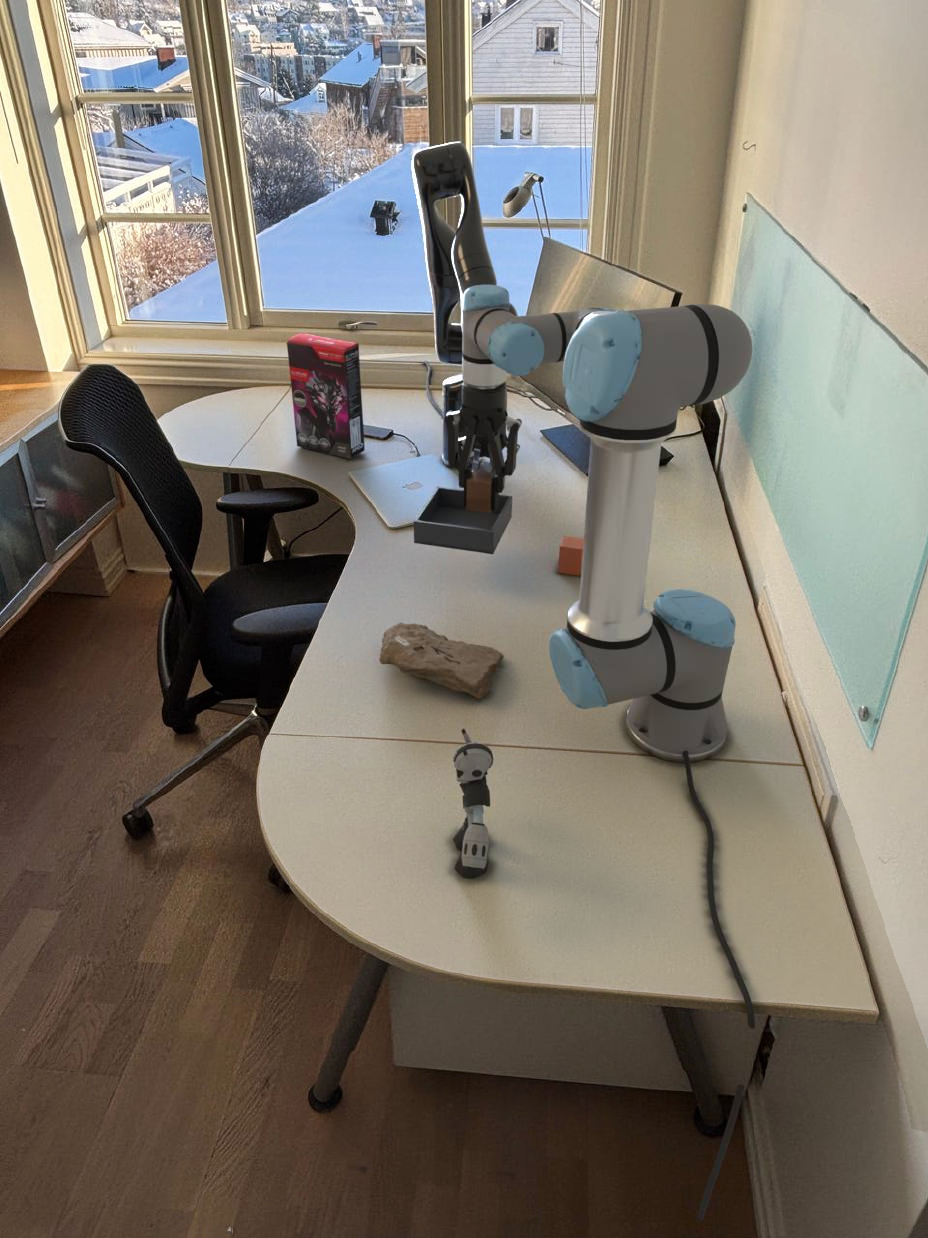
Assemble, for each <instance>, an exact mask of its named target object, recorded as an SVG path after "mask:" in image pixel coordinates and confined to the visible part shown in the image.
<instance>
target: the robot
mask: <svg viewBox="0 0 928 1238" xmlns="http://www.w3.org/2000/svg"><path fill="white" fill-rule="evenodd" d="M461 734H462V737H463V739H464V742H465V744H463V745H461V746H460V747H459V748H458V749H457V750H456V751H455V753H454V756H453V757H452V760H453V768H455V772H456V774H455V775H456V781H457V782H458V783H459V786H460V789H461V791H462V793H463V794H462V809H464V812H465V814H466V817H465V818H464V821H463V823H462V826H461V827H460V829H459V830H458V831H457V833H456V834H455V835H454V837H453V838H452V841H453V843H454V846H455V847H456V849H457V850H459V851H460V853H459V855H458V858H457V859H456V863H455V865H454V870H455V871H456V872H457V873H458V874H459V875H460V876H461V877H464V878H468V879H472V878H477V877H479V876H481V875H483V874H486V873H487V872H488V867H489V863H490V862H489V848H490V834H489V831H488V826H486V824H485V823H484V818H483V817H484V816H483V815H484V813H485V812H484V810H485V809H484V806H485V807H487V808H491V792H490V788H489V785H488V784H487V775H488V771H489V769H491V768H492V766H493V764H494V755H493V751H492V750H491V749H490V747H488V746H487V745H486V744H484V743H482V742H479V741H476V740H475V741H472V740H471V738H470V736H469V735H468V733H467V730H466V729H465V728H462V729H461Z"/></svg>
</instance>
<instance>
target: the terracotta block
mask: <svg viewBox="0 0 928 1238" xmlns="http://www.w3.org/2000/svg"><path fill="white" fill-rule="evenodd" d="M583 544H584V537H575V536H568V535H563V537H562V539H561V541H560V544H559V551H558V564H557V573H558V574H565V575H571V576H577V577H580V576H581V573H582V558H583Z"/></svg>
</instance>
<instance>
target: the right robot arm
mask: <svg viewBox="0 0 928 1238" xmlns="http://www.w3.org/2000/svg"><path fill="white" fill-rule="evenodd" d="M510 303H511V302H510V292H509V291H508V289H507V288H505V287H503V286H501V285H497V286H496V285H476V286H472V287H469V288H468V289H467V290H466V291H465V292H464V295H463V308H462V366H461V373H462V380H463V381H464V382H463V383H462V406H461V408H460V410H459V411H456V412H453V411H449V413H448V414H447V415H446V416H445V422H446V425H447V428H448V465H449V466H448V467H449V468H450V469H455V470H457V472H458V487H459V489H463V490H464V507H466V493H467V479H468V478H469V476H470V474H471V473H472V468H467V467H468V465H469V460H470V456H471V452H472V448H473V445H474V441H475V437H476V435H484V436H487V438H488V442H489V443H490V448H491V453H492V458H493V462H494V467H495V473H494V475H493V477H492V499H491V510H492V511H495V510H496V508H497V506H498V503H499V494H502V493H503V491H504V489H505V485H506V477H507V476H508V477H512V475H513V474H514V472H515V470H516V469H517V454H518V452H517V444H518V439H519V438H518V436H519V431H520V428H521V426H522V423H523V421H522V419H521V418H516V419H515V418H513V417H511V416H509V414H508V410H507V411H506V409H505V401H506V390H507V383H506V384H505V383H504V382H505V381H506V374H507V375H508V374H509V375H512V376H518V377H520V376H521V377H522V376H526V375H528V374H530V373H532V372H533V371H535V370H536V369H537V368H538V367H540V365H547V364H554V363H560V362H563V365H562V366H563V369H562V387H563V389H565V394H564V399H565V402H566V405H567V406H568V410H569V411H570V413H571V414H572V415H573V416H574V417H575V418H577V419H579V428H580V429H581V430H582V431H583V433H584V434H585V435H586V436H587V437H588V438H589V439H590V443H589V444H590V445H589V457H588V458H589V459H588V472H587V473H588V474H587V486H586V487H587V488H586V503H585V516H584V517H585V518H584V531H583V538H584V544H583V558H582V572H581V575H580V576H581V577H580V587H579V588H580V589H579V600H577V601H575V602H574V603H573V604H571V606H570V607H569V608H568V611H567V616H566V618H567V619H566V627H565V628H558V629H557V630H555V631H554V632H553V633H552V634H551V635H550V637H549V641H548V642H549V643H548V650H549V657H550V662H551V666H552V670H553V673H554V675H555V678H556V680H557V683H558V685H559V687H560V689H561V691H562V692H563V694H564V696H565V697H566V698H567V700H568V701H569V702H570V703H571V705H573V706H574V707H576V708H579V709H581V710H589V709H595V708H600V707H601V708H606V707H608V706H609V705H612V704H617V703H621V702H626V701H630V700H632V701H631V702H630V704H629V706H628V708H627V712H626V719H625V728H626V732H627V734H628V736H629V738H630V739H631V741H632V742H634V744H636V745H637V746H638V747H639V748H640V749H641V750H643V751H645V752H646V753H648V754H650V755H651V756H654V757H656V758H659V759H662V760H666V761H670V762H675V763H684V766H685V773H686V780H687V781H686V782H687V787H688V791H689V794H690V797H691V799H692V802H693V804H694V805H695V808H696V810H697V811H698V813H699V815H700V816H701V818H702V821H703V823H704V826H705V829H706V834H707V835H706V836H707V851H706V852H707V853H706V885H707V901H708V907H709V912H710V916H711V920H712V924H713V927H714V928H713V929H714V931H715V934H716V936H717V939H718V941H719V943H720V947H721V948H722V951H723V952H724V955H725V957H726V959H727V961H728V963H729V966H730V968H731V971H732V973H733V976H734V978H735V981H736V984H737V986H738V989H739V990H740V993H741V996H742V999H743V1001H744V1004H745V1005H744V1006H745V1011H746V1018H747V1027H748V1028H750V1029H755V1028H756V1019H755V1012H754V1006H753V1001H752V998H751V995H750V993H749V990H748V988H747V985H746V983H745V981H744V979H743V976H742V973H741V971H740V968H739V966H738V963H737V961H736V959H735V957H734V954H733V952H732V950H731V948H730V946H729V944H728V941H727V938H726V937H725V934H724V932H723V930H722V926H721V924H720V919H719V916H718V912H717V907H716V898H715V887H714V869H713V868H714V867H713V866H714V853H715V851H714V850H715V837H714V831H713V826H712V823H711V821H710V818H709V816H708V813H707V812H706V810H705V809H704V807H703V806H702V803H701V802H700V799H699V797H698V795H697V793H696V790H695V786H694V785H695V784H694V779H693V772H692V765H691V763H694V762H700V761H703V760H706V759H709V758H711V757H714V755H716V754H718V752H720V751H721V750H722V748H723V747H724V744H725V743H726V740H727V739H726V738H727V733H728V721H727V716H726V712H725V708H724V707H725V706H724V701H723V692H724V686H725V682H726V678H727V672H728V668H729V664H730V659H731V654H732V651H733V647H734V645H735V642H736V640H735V632H736V627H737V626H736V617H735V616H734V614H733V612H732V611H731V609H730V608H729V607H728V606H727V605H726V604H724V603H723V602H722V601H720V600H719V599H717V598H715V597H713V596H710V595H709V594H706V593H703V592H699V591H695V590H692V589H691V590H690V589H683V588H680V589H670V590H669V589H668V590H666V591H663V592H661V593H660V594H659V595H658V597H656V599H655V601H654V602H653V610H651V611H650V610H649V609H648V608H647V607H646V606H645V605H644V602H645V595H646V594H645V593H646V586H647V585H646V584H647V577H648V566H649V557H650V547H651V539H652V532H653V531H652V530H653V521H654V512H655V505H656V497H657V496H656V494H657V486H658V476H659V470H660V469H659V466H660V459H661V451H662V450H661V449H662V443H663V442H665V441H666V440H667V439H669V438H670V437H672V435H674V434H675V432H676V429H677V424H678V423H677V422H678V415H679V409H681V408H686V407H692V406H698V405H705V404H708V403H710V402H714V401H716V400H719V399H721V398H723V397H724V396H726V395H728V394H729V393H730V392H732V391H733V390H734V389H735V388H736V387H737V386H739V384H740V382H741V381H742V380H743V379H744V377H745V375H746V374H747V372H748V370H749V367H750V364H751V360H752V357H753V340H752V336H751V333H750V330H749V328H748V326H747V325H746V323H745V322H744V320H743V318H741V317H740V316H739V315H738V314H737V313H736V312H734V311H733V310H731V309H728V308H726V307H725V306H720V305H717V304H712V303H711V304H710V303H709V304H708V303H694V304H687V305H678V306H670V307H669V306H668V307H656V308H643V309H631V310H624V309H620V310H615V309H614V308H611V307H591V308H587V309H579V310H578V309H577V310H570V311H560V312H547V313H538V314H527V315H518V316H515V315H513V314H512V313H510V312H509V307H510ZM460 418H461V419H462V421H463V422H464V424H465V425H466V427H467V428H468V430H467V434H466V440H465V444H464V448H463V452H462V456H461V459H460V460H459V446H458V423H459V422H460ZM504 423H506V431H507V432H508V435H507V438H508V445H507V448H506V459H507V463H506V466H505V457H504V453H503V450H502V447H501V442H500V437H499V436H500V433H499V428H500V427H501V426H502V425H503V424H504ZM744 1091H745V1085H744V1084H739V1083H737V1085H736V1090H735V1094H734V1098H733V1102H732V1106H731V1110H730V1114H729V1117H728V1121H727V1124H726V1127H725V1130H724V1133H723V1137H722V1140H721V1143H720V1146H719V1149H718V1152H717V1155H716V1158H715V1159H714V1160H715V1161H714V1164H713V1167H712V1169H711V1172H710V1174H709V1178H708V1181H707V1183H706V1184H707V1185H706V1187H705V1190H704V1193H703V1197H702V1200H701V1202H700V1206H699V1210H698V1213H697V1219H698V1220H699V1221H703V1220H704V1218H705V1213H706V1211H707V1207H708V1205H709V1201H710V1199H711V1195H712V1192H713V1189H714V1186H715V1183H716V1181H717V1178H718V1175H719V1172H720V1170H721V1166H722V1165H723V1161H724V1158H725V1156H726V1152H727V1151H728V1150H727V1149H728V1146H729V1144H730V1141H731V1138H732V1134H733V1131H734V1128H735V1125H736V1121H737V1117H738V1114H739V1111H740V1107H741V1102H742V1098H743V1094H744Z"/></svg>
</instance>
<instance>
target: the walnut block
mask: <svg viewBox="0 0 928 1238" xmlns="http://www.w3.org/2000/svg"><path fill="white" fill-rule="evenodd" d="M493 475H494V473H493V472H486V471H478V470H473V471H472V473H471V474H470V476H469V478H468V479H467V493H466V510H470V511H477V512H484V513H491V511H492V510H491V499H492V477H493Z"/></svg>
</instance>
